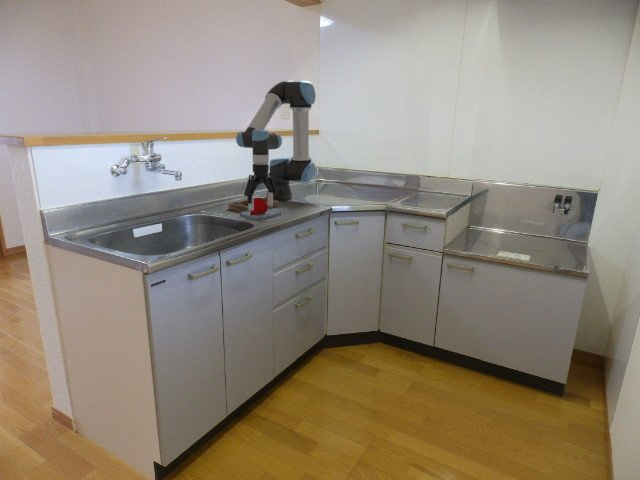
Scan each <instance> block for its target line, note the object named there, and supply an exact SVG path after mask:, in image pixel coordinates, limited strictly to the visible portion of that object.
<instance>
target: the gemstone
mask: <svg viewBox="0 0 640 480" xmlns="http://www.w3.org/2000/svg"><path fill="white" fill-rule="evenodd" d="M261 198H262V197H260V198H258V197H254V210H251V212H250V215H255V214H262V213H265V212H267V211H268V209H267V208H268V205H267V204H266V202H264V200H263V199H261Z"/></svg>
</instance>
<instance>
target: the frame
mask: <svg viewBox="0 0 640 480" xmlns="http://www.w3.org/2000/svg"><path fill="white" fill-rule="evenodd" d="M258 198H261V199H263V200H264V202H266V204H267V205H268V198H267V197H266V198H265V197H258ZM279 204H280V200H273V206H269V205H268V208H267V209H270V210H271V209H273V208H274V209H275V208H277V207H279ZM228 210H231V211H235V212H240V213H241V212H246V211H250V210H248V199H244V200H239V201H234V202H229V203H228Z"/></svg>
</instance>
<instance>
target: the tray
mask: <svg viewBox="0 0 640 480" xmlns="http://www.w3.org/2000/svg"><path fill="white" fill-rule="evenodd" d="M250 212H251V210H250V211H246V212H240V213H239V215H240V217H243V218H244V217H245V218H249V219H254V220H257V221H262V220H267V219H270V218H271V219H272V218H273V217H278V216H281V215H282V211H279V210H274V209H271V208H270V209H268V211H267V212H265V213H262V214H255V215H250Z"/></svg>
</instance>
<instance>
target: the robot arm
mask: <svg viewBox="0 0 640 480" xmlns="http://www.w3.org/2000/svg"><path fill="white" fill-rule="evenodd" d="M315 101H316V90H315V86H314V85H313V84H312V82H311V81H307V80H283V81H280V82H278V83H277V84H274V86H272V87H271V88H270V89H269V91H268V92H267V93H266V95H265V97H264V101H263V103H262V104H261V106H260V107H259V109H258V110H257V112H256V113H255V115H254V117H253V118H252V119H251V121H250V123H249V125H248V126H247V127H246V129H245V131H239V132H237V134H236V137H235V142H236V144H237V146H238V147H240V148H245V149H252V163H253V164H252V173H253V174H249V175H248V180H247V183H246V187H245V190H244V192H243V195H244V196H246V197H247V200H248V206H247V207H248V210H254V198H255V197H254V193H255V192H256V189H257V188H258V186H259V185H261V184H264V187H266V189H267V192H266V199H268V205H269V206H273V200H277V201H285V200H292V199H293V193H292V189H291V185H290V183H291V182H294V183H295V182H296V183H310V182H311V181H312V180H313V178H314V176H315V173H316V165H315V163H314V162H313V161H312V157H311V156H309V155H310V153H309V151H310V150H309V148H310V146H309V141H310V140H309V136H310V135H309V133H310V132H309V121H310V120H309V117H310V116H309V115H310V114H309V113H310V110H311V109H312V105H314V104H315V103H316V102H315ZM286 104H287V105H288V104H289V109H291V111H292V143H293V144H292V146H293V147H292V149H293V150H292V153H293V155H292V156H291V157H279V158H272V159H269V158H270V157H269V155H270V154H269V152H270V151H269V150H276V149H279V148H280V147H281V146H282V144H283V139H282V137H281V135H280V134H278V133H275V132H271V133H269V130H268V129H266V128H267V126H268V124H269V123H270V121H271V120H272V118H273V116H274V114H275V113H276V110H278V109H280V108H281V107H282V105H286Z"/></svg>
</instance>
